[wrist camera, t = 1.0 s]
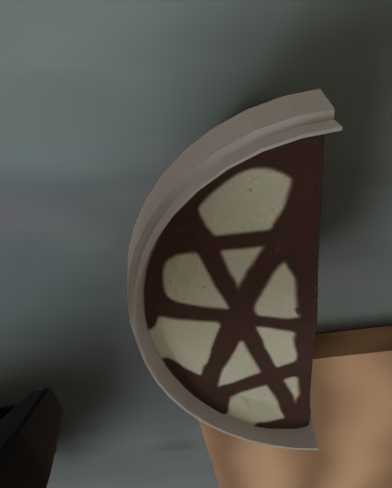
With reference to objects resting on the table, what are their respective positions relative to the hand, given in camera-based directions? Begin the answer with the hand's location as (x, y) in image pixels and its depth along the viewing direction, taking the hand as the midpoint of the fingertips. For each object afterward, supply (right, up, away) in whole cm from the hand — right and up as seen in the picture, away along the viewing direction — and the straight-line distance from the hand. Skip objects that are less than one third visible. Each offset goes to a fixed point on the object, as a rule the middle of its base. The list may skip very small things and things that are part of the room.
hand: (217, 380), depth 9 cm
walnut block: (+7, -9, +18) cm, 22 cm away
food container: (+1, +6, +10) cm, 12 cm away
